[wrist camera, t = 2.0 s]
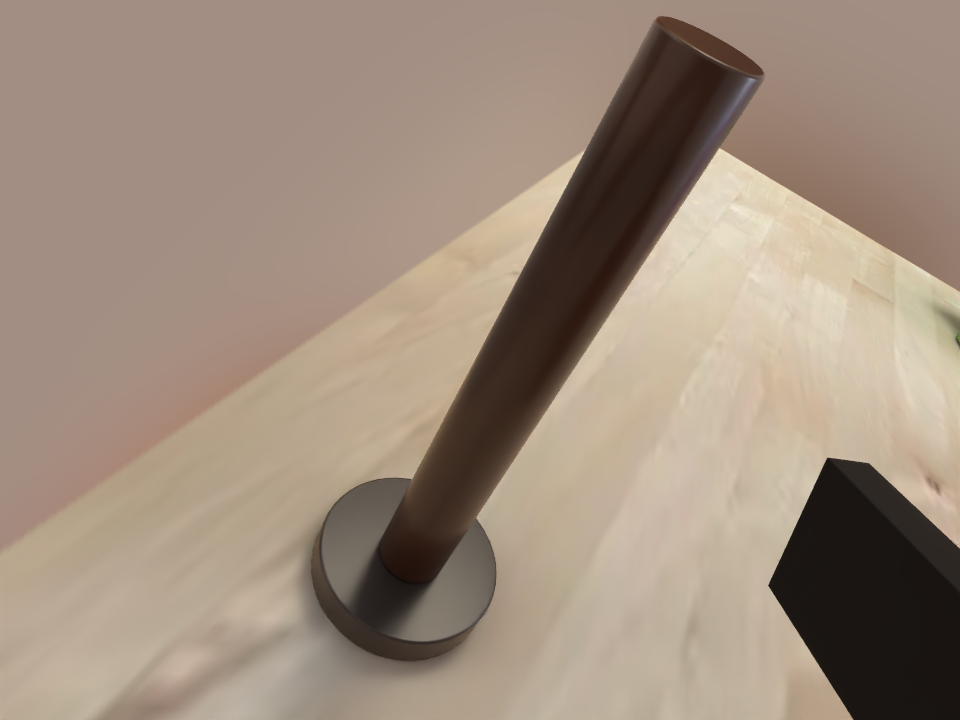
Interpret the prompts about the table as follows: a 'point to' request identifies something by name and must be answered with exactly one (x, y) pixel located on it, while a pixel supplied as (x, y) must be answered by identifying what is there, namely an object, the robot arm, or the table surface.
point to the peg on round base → (529, 353)
